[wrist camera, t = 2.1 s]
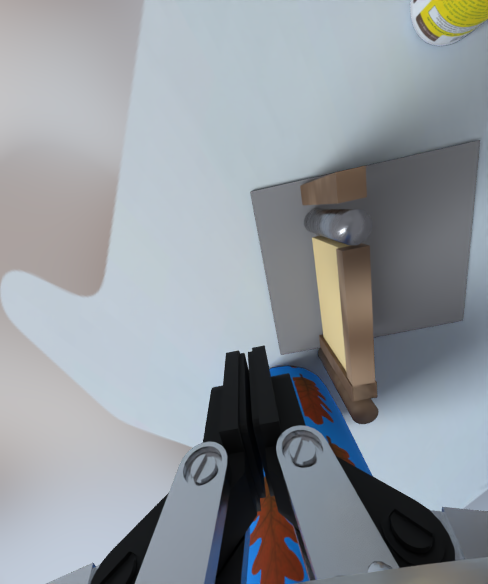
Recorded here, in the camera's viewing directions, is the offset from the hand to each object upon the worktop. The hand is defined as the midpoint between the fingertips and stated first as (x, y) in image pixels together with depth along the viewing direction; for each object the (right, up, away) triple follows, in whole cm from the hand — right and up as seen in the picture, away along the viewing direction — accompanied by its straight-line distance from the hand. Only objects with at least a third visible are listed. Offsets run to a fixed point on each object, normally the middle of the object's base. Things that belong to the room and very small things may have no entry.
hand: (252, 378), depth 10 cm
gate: (+7, +4, +12) cm, 15 cm away
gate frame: (+11, +7, +13) cm, 18 cm away
